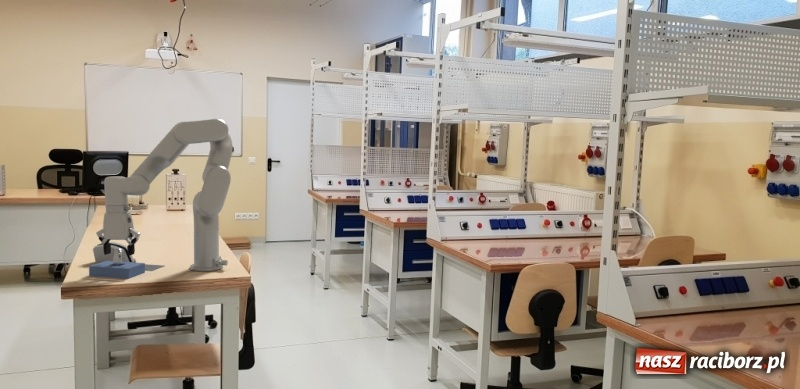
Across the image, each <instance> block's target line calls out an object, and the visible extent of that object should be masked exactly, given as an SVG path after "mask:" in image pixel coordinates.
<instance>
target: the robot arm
mask: <svg viewBox="0 0 800 389" xmlns="http://www.w3.org/2000/svg"><path fill="white" fill-rule="evenodd" d="M200 143H201V144H202V143H204V144H205V143H209V146H210V148H209V153H208V158H207V161H206V164H205V167H204V169H203V171H202V176H201V177H202V182H203V184H202V186H201V187H202V188H201V190H200V191H198V192H197V193H196V194H195V195H194V197H193V200H192V212H193V213H192V214H193V263H192V264H190V266H189V269H190V270H191V271H194V272H214V271H219V270H221V269H223V267H224V266H225V267H226V266H228V264H229V263H228V262H229V261H228V260H227V259H223V258H222V256H221V255H220V253H219V252H220V249H219V248H220V234H219V233H220V227H219V226H220V221H219V220H220V218H219V217H220V216H219V214H220V213H221V211H222V210H223V207H224V205H225V202H226V199H227V195H228V192H229V189H230V187H231V186H230V184H231V181H232V180H231V178H232V177H231V173H230V171H229V166H230V163H231V159H232V156H233V148H234V147H233V141H232V138H231V135H230V134H229V126H228V124H227V123H226V121H224V120H223V119H220V118H212V119H204V120H191V121H181V122H177V123H176V124H175V125H174V126H173V127H172V128H170V131H169V132H168V133H167V134H165V136H164V137H163V138H162V140H160V142H159V143H158V144H157V145H156V146H155V147H154V148H153V149H152V150H151V152H150V153H149V154H148V156H147V157H146V158H145V159H144V160H143V161H142V163H141V164H140V165H139V166H138V167H137V168H136V169H135V170H134V171H133V173H131V174H130V176H127V177H125V176H122V175H121V176H118V175H117V176H114V175H113V176H107V177H105V178H104V184H103V185H104V201H105V203H104V204H105V213H104V216H103V223H102V229H99V230H98V231H96V232H95V233H96V236H97V237H98V240H99V241H100V242H101V243H102V244H103V249H104V255H107V254H110V253H111V244H110V243H109V242H111V241H113V240H114V241H115V240H116V241H126V242H127V244H128V245H126V246H127V250H128V256H130V255H132V256H133V255H135V252H136V251H135V249H136V248H135V244H136V243H137V242H138V241H139V238H140V236H141V232H139V231H138V230H136V229H135V226H134V221H133V216H132V214H131V212H129V211H131V206H129V201H128V200H129V198H128V196H136V197H140V196H144V195H146V194H147V193H148V192H149V190H150V186H151V184H152V183H153V181H155V179H156V178H157V177H158V176H159V175H160V174H161V173H162V172H163V171H164V170H165V169H167V168H169V167H170V166H172V164H174V162H175V161H176V160H177V159H178V158H179V156H180V155H181V154H182V153H183V152H184V151H185V149H187V148H188V146H189V145H191V144H192V145H194V144H200ZM101 243H100V244H101Z"/></svg>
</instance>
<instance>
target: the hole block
mask: <svg viewBox="0 0 800 389" xmlns="http://www.w3.org/2000/svg"><path fill="white" fill-rule="evenodd" d="M145 264H146V263H145V262H122V265H121V266H113V261H104V262H97V263H95V264H92V265H89V266H88V275H89V276H88V277H96V278H97V277H99V278H112V279H115V278H116V279H126V280H127V279H128V280H129V279H131V278H135V277H137V276H139V275H142V274H145V273H146V271H145Z"/></svg>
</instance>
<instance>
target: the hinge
mask: <svg viewBox="0 0 800 389" xmlns="http://www.w3.org/2000/svg"><path fill="white" fill-rule="evenodd" d="M109 243H110V244H111V253H110V254H107V255H104V249H103V244H102V243H98V244H97V245H96V246H94V247H93V248H92V251H93V256H94V260H95V263H101V262H104V261H113V249H115V248H122V262H135V263H137V260H136V258H133V255H130V256H128V250H127V246H128V245H125V244H123V243H120V242H119V243H118V242H115V241H109Z"/></svg>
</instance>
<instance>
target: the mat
mask: <svg viewBox="0 0 800 389" xmlns="http://www.w3.org/2000/svg"><path fill="white" fill-rule="evenodd" d="M164 267H165V265H161V264H146V263H145V272H146V271H147V272H154V271H156V270H159V269H161V268H164Z"/></svg>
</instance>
